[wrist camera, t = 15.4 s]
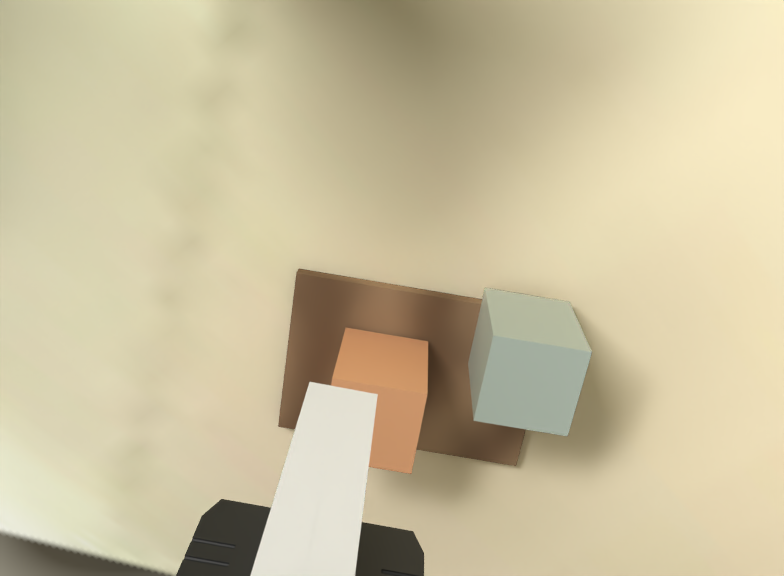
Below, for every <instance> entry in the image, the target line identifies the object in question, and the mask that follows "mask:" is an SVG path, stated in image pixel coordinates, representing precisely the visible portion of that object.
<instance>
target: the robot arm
mask: <svg viewBox="0 0 784 576" xmlns="http://www.w3.org/2000/svg"><path fill="white" fill-rule="evenodd" d="M377 396H378V394H374V393H368V392H363V391H357V390H352V389H347V388H341V387H336V386H330V385H325V384H319V383H314V382H309V385H308V389H307V392H306V395H305V399H304V402H303V405H302V408H301V412H300V415H299V418H298V421H297V425H296V428H295V431H294V435H293V438H292V441H291V444H290V448H289V451H288V454H287V457H286V461H285V464H284V467H283V471H282V474H281V477H280V480H279V484H278V487H277V490H276V493H275V497H274V500H273V503H272V507H271V508H269V507H263V506H258V505H252V504H247V503H241V502H236V501H230V500H224V499H221V500H220V501H219V502H218V503H216V504H215V505H214V506H213V507H212V508H211V509H209V510H208V511H207V512H206V513H205V514H204V515H202V517H201V519H200V522H199V524H198V526H197V529H196V531H195V533H194V536H193V539H192V542H191V543H190V545H189V547H188V549H187V552H186V554H185V558H184V560H183V561H182V563H181V566H180V568H179V570H178V573H177V575H176V576H424V552H423V550H422V548H421V546H420V544H419V542H418V540H417V538H416V536H415V534H414V532H413V531H408V530H402V529H397V528H391V527H386V526H380V525H374V524H369V523H363V522H362V516H363V508H364V500H365V492H366V484H367V476H368V468H369V460H370V452H371V444H372V436H373V428H374V420H375V412H376V404H377Z"/></svg>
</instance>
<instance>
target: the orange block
mask: <svg viewBox="0 0 784 576" xmlns="http://www.w3.org/2000/svg"><path fill="white" fill-rule="evenodd" d="M331 386H336V387H341V388H347V389H352V390H357V391H363V392H368V393H374V394H378V396H377V404H376V412H375V420H374V428H373V436H372V444H371V452H370V460H369V467H373V468H379V469H385V470H391V471H397V472H403V473H409V474H411V473H412V468H413V463H414V458H415V453H416V448H417V443H418V438H419V434H420V429H421V424H422V419H423V414H424V409H425V404H426V399H427V393H428V341H423V340H417V339H411V338H405V337H399V336H393V335H387V334H382V333H376V332H370V331H364V330H358V329H352V328H345V332H344V336H343V339H342V343H341V347H340V351H339V354H338V358H337V362H336V366H335V369H334V373H333V377H332V383H331Z"/></svg>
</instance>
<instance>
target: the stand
mask: <svg viewBox="0 0 784 576" xmlns="http://www.w3.org/2000/svg"><path fill="white" fill-rule="evenodd" d="M481 303H482V299H476V298H470V297H464V296H458V295H452V294H446V293H441V292H435V291H429V290H423V289H417V288H411V287H405V286H399V285H393V284H387V283H381V282H375V281H369V280H363V279H357V278H351V277H345V276H339V275H333V274H327V273H321V272H315V271H310V270H304V269H298V271H297V273H296V282H295V290H294V299H293V307H292V316H291V324H290V332H289V341H288V349H287V358H286V366H285V374H284V383H283V391H282V400H281V408H280V416H279V425H278V427H284V428H290V429H295V428H296V425H297V421H298V418H299V415H300V412H301V408H302V405H303V402H304V399H305V395H306V392H307V389H308V385H309V382H314V383H319V384H325V385H330V386H331V383H332V377H333V373H334V369H335V366H336V362H337V358H338V354H339V351H340V347H341V343H342V339H343V336H344V332H345V328H352V329H358V330H364V331H370V332H376V333H382V334H387V335H393V336H399V337H405V338H411V339H417V340H423V341H428V393H427V399H426V404H425V409H424V414H423V419H422V424H421V429H420V434H419V438H418V443H417V448H416V449H417V450H423V451H429V452H435V453H441V454H447V455H453V456H459V457H465V458H471V459H477V460H483V461H490V462H496V463H502V464H508V465H514V466H516V464H517V460H518V456H519V453H520V449H521V445H522V441H523V438H524V434H525V430H526V429H520V428H514V427H508V426H502V425H496V424H490V423H484V422H478V421H474V420H473V410H472V399H471V389H470V378H469V368H468V362H469V357H470V353H471V348H472V344H473V339H474V335H475V330H476V326H477V321H478V317H479V312H480V308H481Z"/></svg>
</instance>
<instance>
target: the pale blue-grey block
mask: <svg viewBox="0 0 784 576" xmlns="http://www.w3.org/2000/svg"><path fill="white" fill-rule="evenodd" d="M591 354H592V351H591V348H590V346H589V344H588V342H587V339H586V337H585V335H584V333H583V331H582V328H581V326H580V324H579V322H578V319H577V317H576V315H575V313H574V310H573V308H572V306H571V304H570V302H567V301H561V300H555V299H550V298H544V297H538V296H532V295H526V294H520V293H514V292H508V291H502V290H496V289H490V288H485V290H484V294H483V299H482V303H481V308H480V312H479V317H478V321H477V326H476V330H475V335H474V339H473V344H472V348H471V353H470V357H469V362H468V368H469V378H470V389H471V399H472V410H473V420H474V421H478V422H484V423H490V424H496V425H502V426H508V427H514V428H520V429H526V430H532V431H538V432H544V433H550V434H556V435H562V436H568V433H569V430H570V426H571V423H572V419H573V416H574V412H575V409H576V406H577V402H578V399H579V395H580V392H581V388H582V385H583V382H584V378H585V375H586V371H587V368H588V364H589V361H590V357H591Z"/></svg>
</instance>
